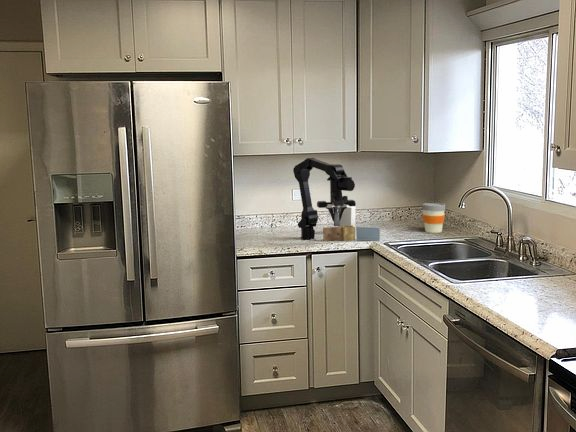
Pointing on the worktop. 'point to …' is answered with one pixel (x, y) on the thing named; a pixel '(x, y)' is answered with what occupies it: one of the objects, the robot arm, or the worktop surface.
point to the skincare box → (348, 216)
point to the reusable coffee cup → (433, 216)
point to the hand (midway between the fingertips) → (336, 220)
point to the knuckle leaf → (339, 233)
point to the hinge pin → (336, 215)
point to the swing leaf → (368, 233)
